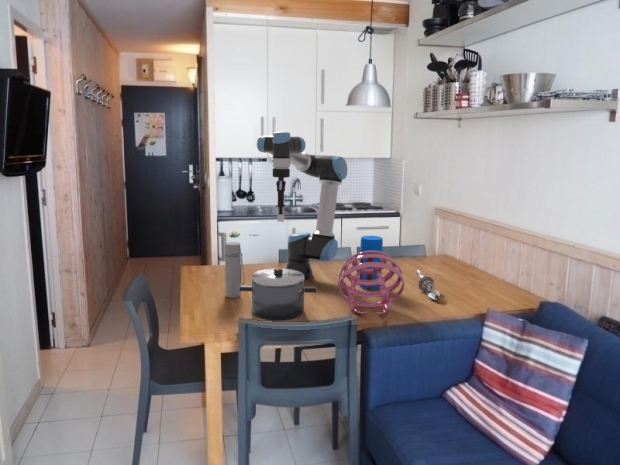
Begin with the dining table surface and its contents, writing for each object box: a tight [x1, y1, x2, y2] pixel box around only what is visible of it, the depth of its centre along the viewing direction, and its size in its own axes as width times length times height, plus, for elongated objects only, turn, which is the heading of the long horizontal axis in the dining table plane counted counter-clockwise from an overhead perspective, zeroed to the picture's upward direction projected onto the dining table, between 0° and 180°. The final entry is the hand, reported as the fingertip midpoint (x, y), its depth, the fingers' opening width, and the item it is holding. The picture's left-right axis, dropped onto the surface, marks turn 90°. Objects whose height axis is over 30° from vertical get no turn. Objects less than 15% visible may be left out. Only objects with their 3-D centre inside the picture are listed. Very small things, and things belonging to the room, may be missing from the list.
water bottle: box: [224, 241, 246, 299], centre depth 237 cm, size 9×8×25 cm
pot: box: [240, 281, 317, 322], centre depth 219 cm, size 22×32×14 cm
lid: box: [251, 267, 305, 288], centre depth 217 cm, size 22×22×4 cm
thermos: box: [358, 235, 384, 291], centre depth 256 cm, size 11×11×25 cm
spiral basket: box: [337, 250, 405, 316], centre depth 220 cm, size 28×28×27 cm
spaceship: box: [415, 269, 441, 301], centre depth 252 cm, size 8×35×8 cm
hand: (280, 221), depth 229 cm, fingers closed
